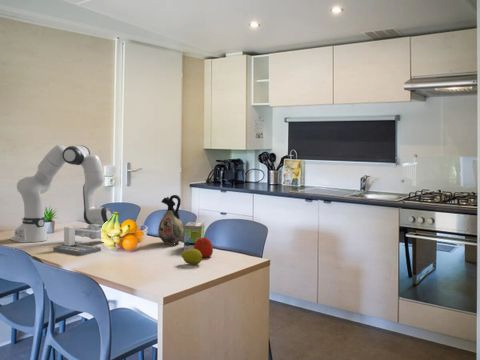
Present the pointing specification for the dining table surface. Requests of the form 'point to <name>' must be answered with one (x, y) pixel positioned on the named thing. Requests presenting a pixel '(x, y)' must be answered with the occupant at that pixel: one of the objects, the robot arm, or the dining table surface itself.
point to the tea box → (192, 234)
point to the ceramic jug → (171, 222)
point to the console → (77, 249)
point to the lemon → (192, 256)
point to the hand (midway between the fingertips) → (75, 234)
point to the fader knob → (69, 236)
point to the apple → (204, 247)
